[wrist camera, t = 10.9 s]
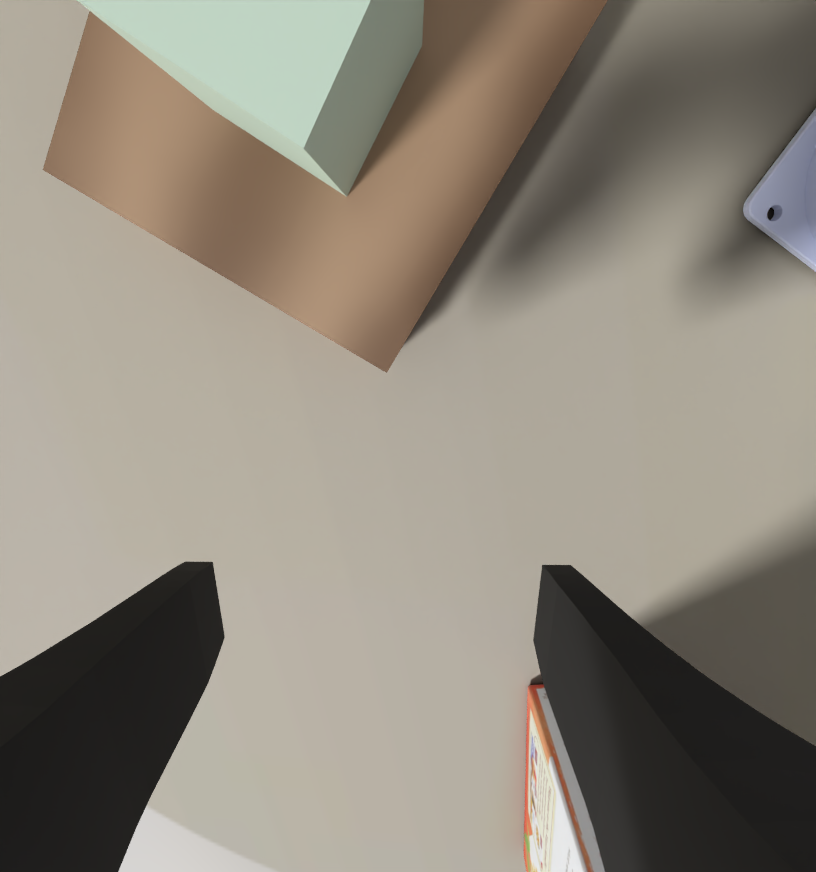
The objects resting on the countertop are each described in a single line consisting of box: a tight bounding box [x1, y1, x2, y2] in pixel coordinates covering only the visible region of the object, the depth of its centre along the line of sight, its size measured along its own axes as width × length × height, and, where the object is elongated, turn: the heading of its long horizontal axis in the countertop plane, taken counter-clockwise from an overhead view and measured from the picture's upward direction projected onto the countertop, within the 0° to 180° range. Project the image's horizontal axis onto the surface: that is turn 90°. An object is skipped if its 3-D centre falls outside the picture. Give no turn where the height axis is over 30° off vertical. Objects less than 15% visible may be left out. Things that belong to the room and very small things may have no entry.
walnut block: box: [43, 0, 608, 373], centre depth 15 cm, size 12×12×3 cm
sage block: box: [77, 0, 424, 197], centre depth 10 cm, size 4×4×6 cm
